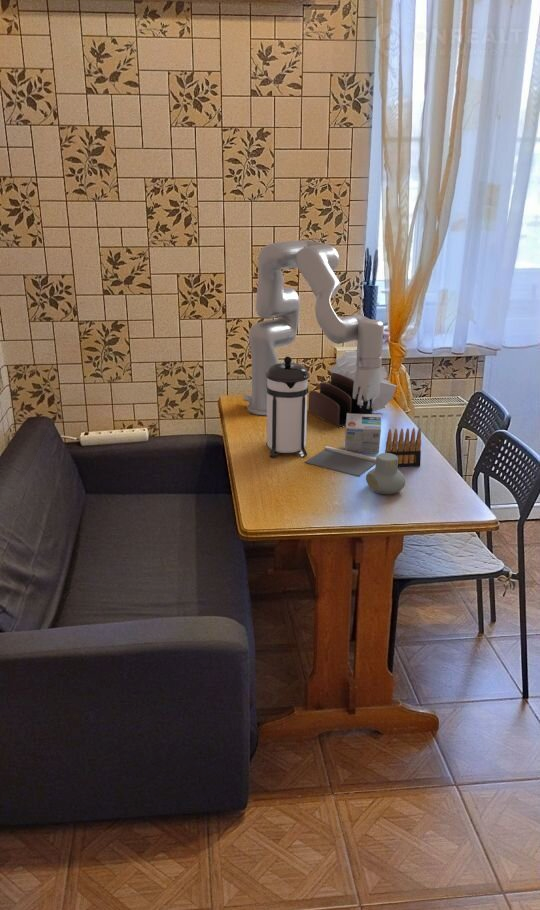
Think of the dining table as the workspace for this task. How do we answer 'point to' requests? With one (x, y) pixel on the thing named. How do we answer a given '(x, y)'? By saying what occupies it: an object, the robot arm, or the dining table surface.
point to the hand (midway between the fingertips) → (365, 419)
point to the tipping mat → (343, 461)
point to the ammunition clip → (405, 448)
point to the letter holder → (334, 400)
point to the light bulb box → (363, 432)
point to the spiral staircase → (347, 369)
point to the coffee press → (286, 407)
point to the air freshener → (386, 475)
